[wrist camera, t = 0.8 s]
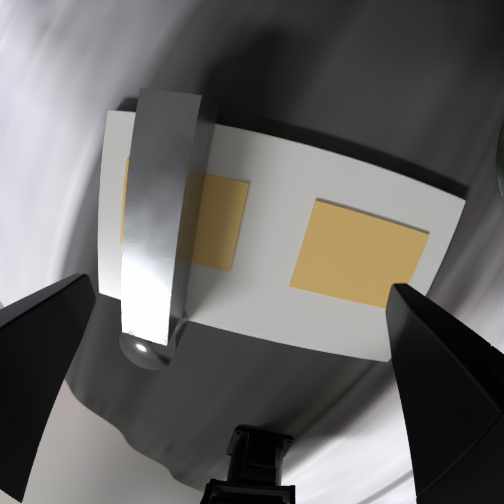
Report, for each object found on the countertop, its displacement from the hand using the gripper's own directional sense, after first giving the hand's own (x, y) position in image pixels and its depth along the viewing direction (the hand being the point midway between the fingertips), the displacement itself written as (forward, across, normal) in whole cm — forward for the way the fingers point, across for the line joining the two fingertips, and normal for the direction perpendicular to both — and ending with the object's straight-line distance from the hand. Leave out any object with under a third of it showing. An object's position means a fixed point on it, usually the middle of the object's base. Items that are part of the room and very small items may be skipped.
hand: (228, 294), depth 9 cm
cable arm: (+10, +6, +3) cm, 12 cm away
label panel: (+12, 0, +4) cm, 13 cm away
